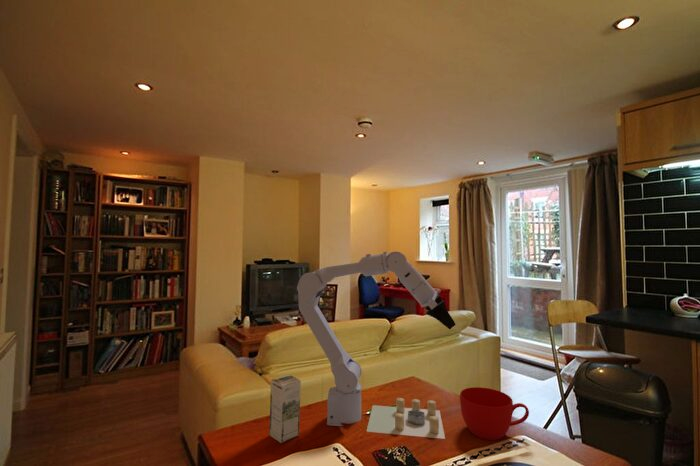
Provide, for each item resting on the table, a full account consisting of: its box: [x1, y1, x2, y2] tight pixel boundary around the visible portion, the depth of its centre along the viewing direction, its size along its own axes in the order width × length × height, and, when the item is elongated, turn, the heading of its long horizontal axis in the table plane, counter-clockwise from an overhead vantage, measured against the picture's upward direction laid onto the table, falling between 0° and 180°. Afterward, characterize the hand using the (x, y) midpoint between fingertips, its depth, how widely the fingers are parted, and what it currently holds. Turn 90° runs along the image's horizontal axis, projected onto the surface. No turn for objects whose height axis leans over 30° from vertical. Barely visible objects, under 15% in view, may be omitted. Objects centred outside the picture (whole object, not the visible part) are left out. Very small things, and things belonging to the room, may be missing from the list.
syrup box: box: [268, 374, 302, 444], centre depth 90 cm, size 6×6×14 cm
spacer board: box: [366, 397, 446, 440], centre depth 96 cm, size 20×16×4 cm
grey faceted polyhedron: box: [408, 410, 425, 426], centre depth 96 cm, size 5×4×2 cm
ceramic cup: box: [459, 386, 530, 441], centre depth 90 cm, size 13×17×10 cm
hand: (450, 323), depth 95 cm, fingers open, 7 cm apart
